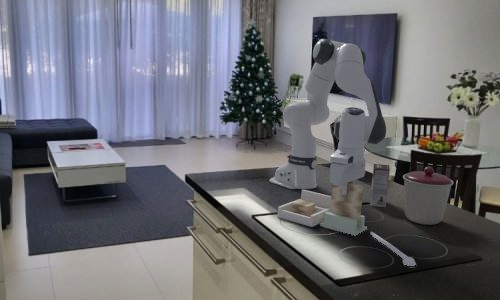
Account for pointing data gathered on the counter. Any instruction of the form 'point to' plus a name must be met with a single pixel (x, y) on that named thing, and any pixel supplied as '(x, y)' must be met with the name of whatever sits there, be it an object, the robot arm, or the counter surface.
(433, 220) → the canister
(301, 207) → the offcut stack
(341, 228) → the holder
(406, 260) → the white ladle
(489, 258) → the counter surface
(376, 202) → the coffee box
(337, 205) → the birch panel
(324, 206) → the rack
